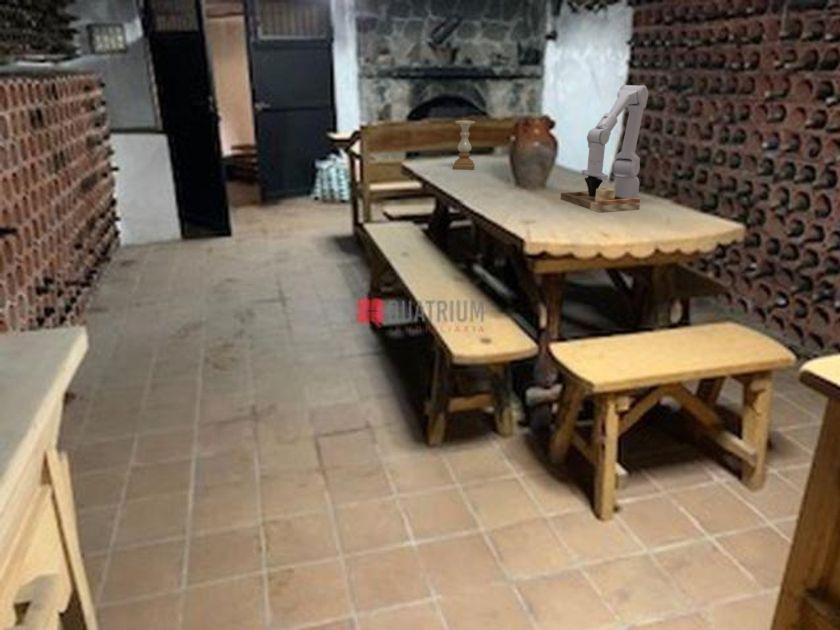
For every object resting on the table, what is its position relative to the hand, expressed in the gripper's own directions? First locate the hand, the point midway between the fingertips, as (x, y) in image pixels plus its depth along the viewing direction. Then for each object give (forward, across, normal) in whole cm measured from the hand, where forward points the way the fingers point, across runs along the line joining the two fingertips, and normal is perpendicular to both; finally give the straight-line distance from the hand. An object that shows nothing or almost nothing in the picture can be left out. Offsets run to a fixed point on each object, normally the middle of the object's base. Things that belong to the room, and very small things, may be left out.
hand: (592, 196), depth 255 cm
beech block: (+1, +8, 0) cm, 8 cm away
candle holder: (+4, -104, -7) cm, 105 cm away
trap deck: (+3, -1, +4) cm, 5 cm away
